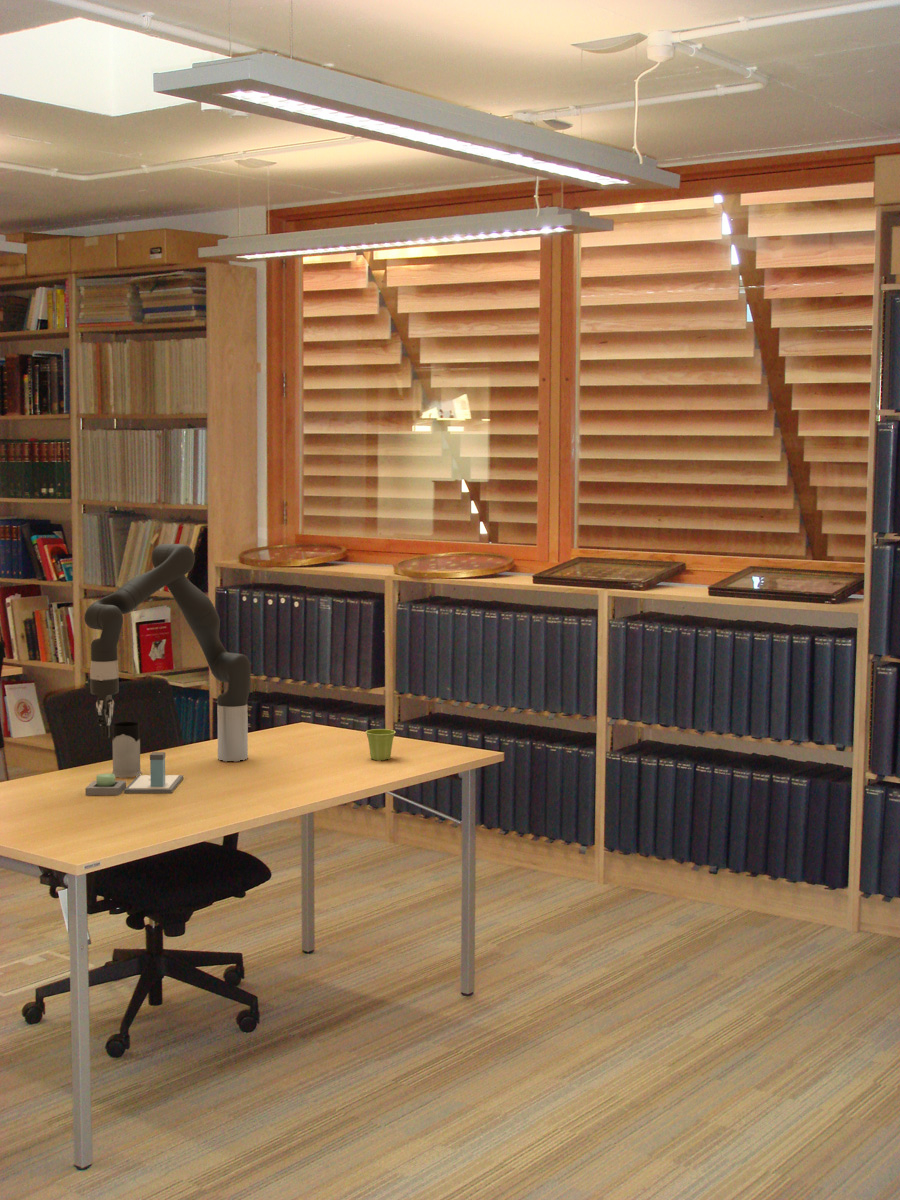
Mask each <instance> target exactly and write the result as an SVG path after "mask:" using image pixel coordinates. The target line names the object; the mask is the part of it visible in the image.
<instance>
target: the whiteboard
mask: <svg viewBox="0 0 900 1200" xmlns="http://www.w3.org/2000/svg"><path fill="white" fill-rule="evenodd" d="M182 779H184V775H183V774H165V785H164V786H163V787H151V775H150V774H142V775H138V776H137V777H134V779H133V780H132V781H130V783H129V784H128V785H126V788H125V789H124V790H123V792H124V794H173V792H174V791H175V790H176V788H177V787H178V786H179V785H178V784H180V783H181V782H182V781H183V780H182ZM181 780H182V781H181ZM177 785H178V786H177ZM176 786H177V787H176ZM174 789H175V790H174ZM173 790H174V791H173ZM172 791H173V792H172Z"/></svg>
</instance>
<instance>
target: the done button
mask: <svg viewBox="0 0 900 1200" xmlns="http://www.w3.org/2000/svg"><path fill="white" fill-rule="evenodd" d="M95 779H96V780H95V781H96V783H97V786H112V785H115V781H116V777H115V774H112V773H99V774H97V775H96V777H95Z"/></svg>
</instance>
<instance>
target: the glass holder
mask: <svg viewBox="0 0 900 1200" xmlns="http://www.w3.org/2000/svg"><path fill="white" fill-rule="evenodd" d="M111 774H115V778H117V777H119V779H127V777H131V778H134V777H133V776H138V775H140V774H142V775H143V772H142V771H141V738H140V723H139V722H136V721H135V722H134V721H121V722H116V723H113V724H112V772H111Z"/></svg>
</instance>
